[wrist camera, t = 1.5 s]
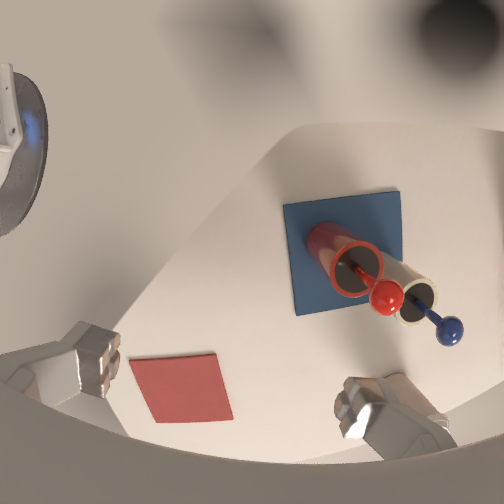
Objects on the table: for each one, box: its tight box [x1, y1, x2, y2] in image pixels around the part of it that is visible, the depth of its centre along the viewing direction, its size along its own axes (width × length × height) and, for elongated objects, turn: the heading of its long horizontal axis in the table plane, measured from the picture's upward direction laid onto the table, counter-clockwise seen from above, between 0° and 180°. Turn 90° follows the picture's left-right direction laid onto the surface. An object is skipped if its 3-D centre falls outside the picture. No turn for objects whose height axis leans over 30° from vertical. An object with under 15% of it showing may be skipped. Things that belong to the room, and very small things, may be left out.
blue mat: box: [283, 191, 402, 316], centre depth 39 cm, size 15×16×1 cm
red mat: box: [129, 354, 233, 423], centre depth 44 cm, size 14×14×1 cm
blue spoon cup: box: [380, 251, 464, 347], centre depth 30 cm, size 6×6×19 cm
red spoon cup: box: [306, 221, 404, 316], centre depth 29 cm, size 6×6×19 cm
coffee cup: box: [385, 373, 449, 432], centre depth 38 cm, size 10×10×15 cm
